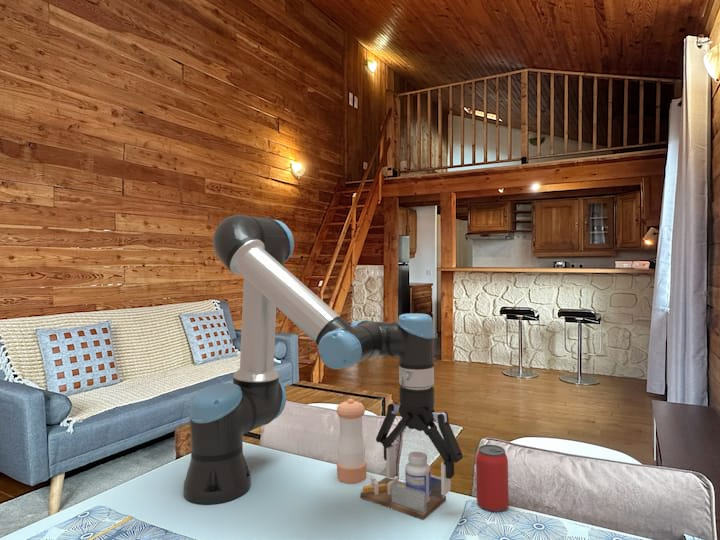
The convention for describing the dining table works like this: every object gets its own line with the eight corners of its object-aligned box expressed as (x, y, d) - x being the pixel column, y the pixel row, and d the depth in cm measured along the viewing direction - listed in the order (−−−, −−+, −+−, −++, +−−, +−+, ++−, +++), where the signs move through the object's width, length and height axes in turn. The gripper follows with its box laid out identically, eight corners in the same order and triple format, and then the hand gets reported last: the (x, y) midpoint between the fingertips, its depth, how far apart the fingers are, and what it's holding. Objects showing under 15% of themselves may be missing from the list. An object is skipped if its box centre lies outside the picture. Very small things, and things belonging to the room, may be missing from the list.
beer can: (510, 514, 99) (509, 456, 98) (477, 511, 100) (476, 454, 100) (506, 498, 105) (506, 444, 105) (476, 496, 106) (475, 442, 106)
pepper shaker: (341, 469, 121) (339, 394, 121) (369, 471, 120) (367, 395, 120) (333, 482, 114) (332, 402, 114) (363, 484, 113) (362, 404, 113)
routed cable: (360, 491, 107) (360, 481, 107) (378, 480, 113) (377, 470, 113) (388, 501, 103) (388, 490, 103) (405, 489, 108) (404, 478, 108)
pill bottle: (416, 491, 107) (415, 448, 107) (436, 499, 103) (435, 454, 103) (400, 499, 103) (399, 455, 103) (420, 508, 99) (419, 461, 99)
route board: (360, 497, 107) (360, 493, 106) (385, 481, 114) (385, 477, 114) (423, 520, 97) (423, 515, 97) (446, 500, 105) (446, 495, 105)
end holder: (391, 502, 102) (391, 484, 102) (413, 486, 109) (413, 469, 109) (424, 514, 97) (424, 494, 97) (444, 496, 104) (444, 478, 104)
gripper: (360, 381, 108) (361, 474, 108) (462, 399, 92) (463, 507, 93) (379, 374, 114) (380, 463, 114) (478, 390, 98) (479, 492, 99)
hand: (417, 483), depth 103 cm, fingers open, 13 cm apart
